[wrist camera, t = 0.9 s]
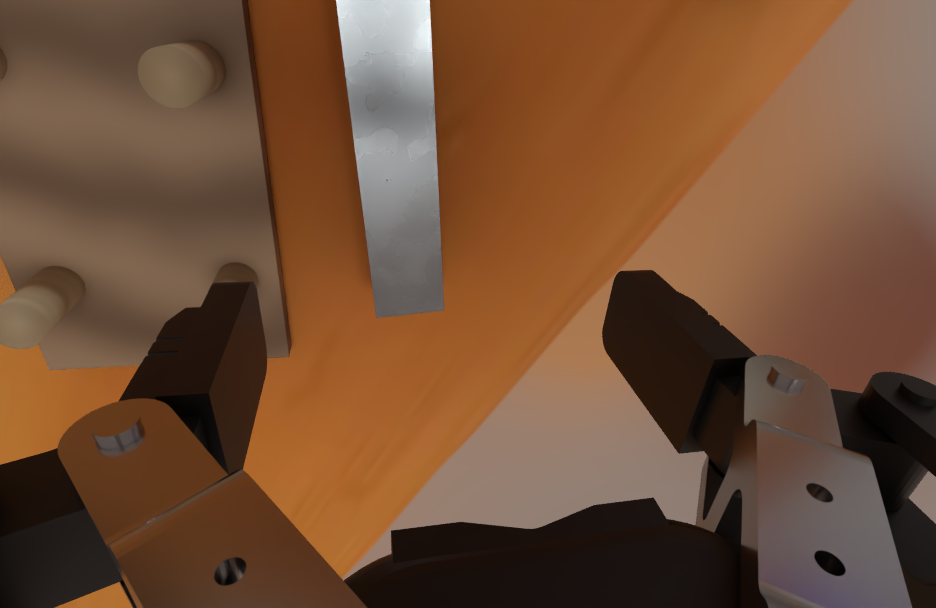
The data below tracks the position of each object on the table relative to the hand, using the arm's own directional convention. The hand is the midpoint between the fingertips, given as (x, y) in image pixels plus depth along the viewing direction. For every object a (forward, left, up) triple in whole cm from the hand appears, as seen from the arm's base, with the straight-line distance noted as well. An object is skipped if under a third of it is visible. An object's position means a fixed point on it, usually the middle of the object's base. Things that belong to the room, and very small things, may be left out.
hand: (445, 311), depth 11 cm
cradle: (+2, -12, -17) cm, 21 cm away
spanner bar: (0, 0, -17) cm, 17 cm away
